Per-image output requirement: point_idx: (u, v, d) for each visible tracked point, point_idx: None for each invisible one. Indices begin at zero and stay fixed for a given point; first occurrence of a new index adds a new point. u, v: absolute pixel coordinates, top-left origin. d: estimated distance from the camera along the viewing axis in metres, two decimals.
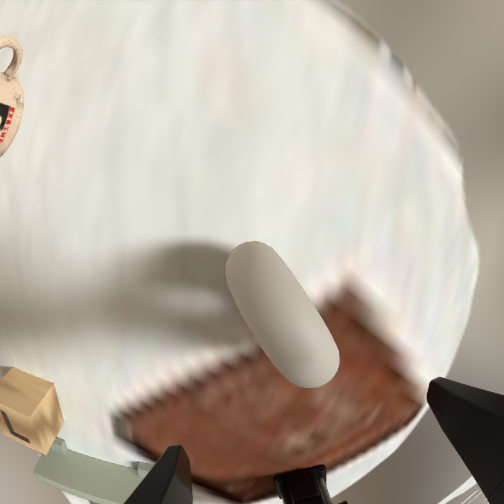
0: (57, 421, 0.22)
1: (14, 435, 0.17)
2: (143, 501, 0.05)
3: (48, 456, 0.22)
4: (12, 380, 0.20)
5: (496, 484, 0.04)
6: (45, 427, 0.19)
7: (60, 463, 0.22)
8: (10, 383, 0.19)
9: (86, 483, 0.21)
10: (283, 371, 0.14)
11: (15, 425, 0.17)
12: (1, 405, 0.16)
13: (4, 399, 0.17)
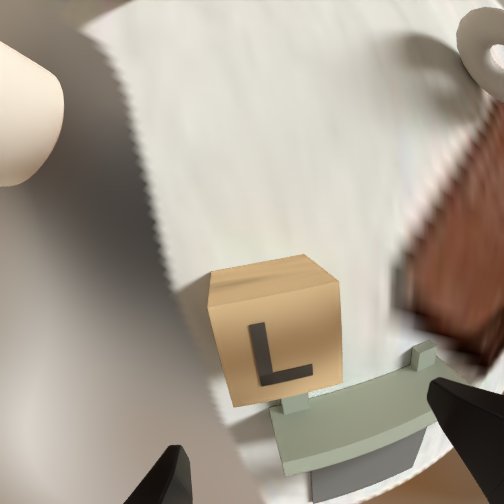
0: None
1: (271, 383, 0.14)
2: (143, 501, 0.05)
3: (287, 425, 0.19)
4: (234, 276, 0.16)
5: (496, 484, 0.04)
6: None
7: (314, 421, 0.18)
8: (236, 279, 0.16)
9: (374, 419, 0.17)
10: None
11: (286, 345, 0.13)
12: (257, 306, 0.13)
13: (256, 292, 0.13)
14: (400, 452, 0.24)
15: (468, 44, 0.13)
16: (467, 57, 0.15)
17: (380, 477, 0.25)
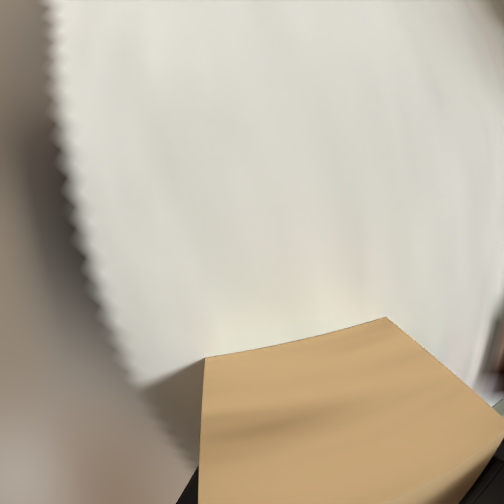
0: None
1: None
2: (196, 502, 0.05)
3: None
4: (258, 394, 0.06)
5: None
6: None
7: None
8: (264, 408, 0.06)
9: None
10: None
11: None
12: None
13: (331, 487, 0.03)
14: None
15: None
16: None
17: None
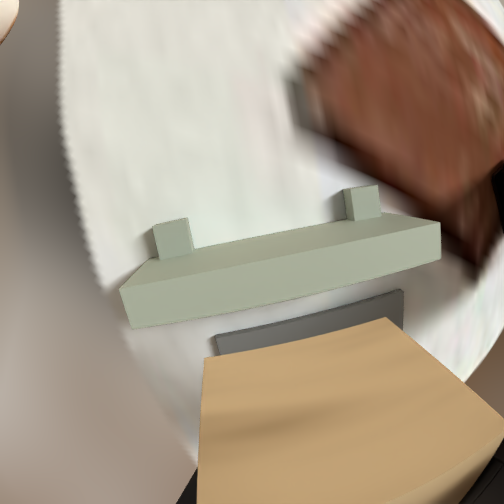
0: None
1: None
2: (196, 502, 0.05)
3: (155, 265, 0.15)
4: (257, 394, 0.06)
5: None
6: None
7: (188, 259, 0.15)
8: (263, 408, 0.06)
9: (272, 250, 0.14)
10: None
11: None
12: None
13: (330, 488, 0.03)
14: None
15: None
16: None
17: None
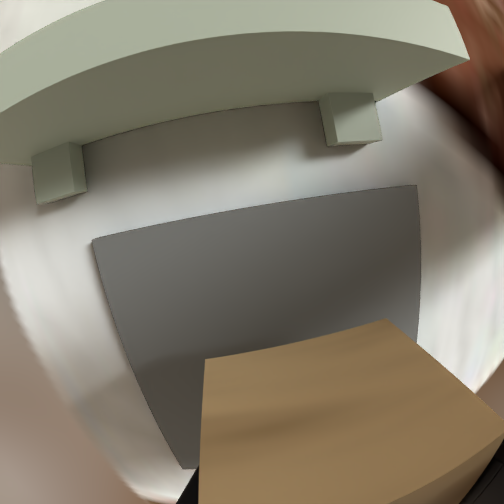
0: None
1: None
2: (196, 502, 0.05)
3: None
4: (258, 396, 0.06)
5: None
6: None
7: None
8: (264, 410, 0.06)
9: None
10: None
11: None
12: None
13: (331, 489, 0.03)
14: None
15: None
16: None
17: None
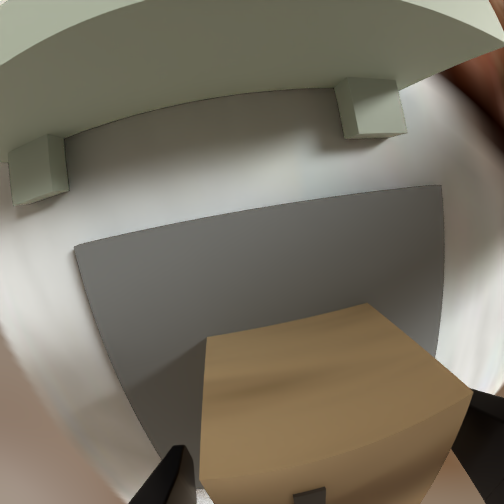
0: None
1: None
2: (148, 501, 0.05)
3: None
4: (252, 363, 0.08)
5: (493, 486, 0.04)
6: None
7: None
8: (257, 374, 0.07)
9: None
10: None
11: (356, 499, 0.05)
12: (315, 470, 0.04)
13: (311, 435, 0.05)
14: None
15: None
16: None
17: None
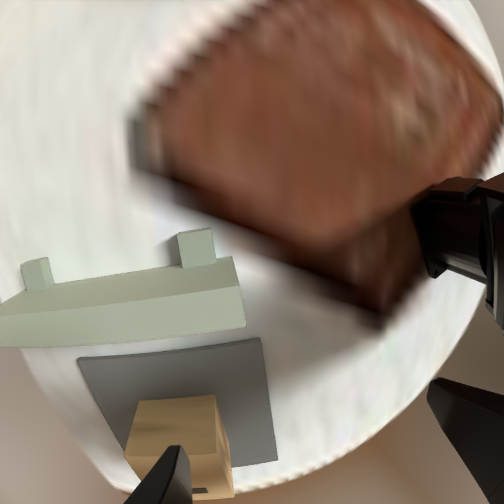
0: (227, 446, 0.19)
1: None
2: (143, 501, 0.05)
3: (18, 297, 0.15)
4: (151, 418, 0.17)
5: (496, 484, 0.04)
6: (225, 459, 0.16)
7: (34, 296, 0.14)
8: (151, 423, 0.17)
9: (72, 299, 0.13)
10: None
11: None
12: (157, 460, 0.14)
13: (157, 448, 0.14)
14: (235, 427, 0.21)
15: None
16: None
17: None
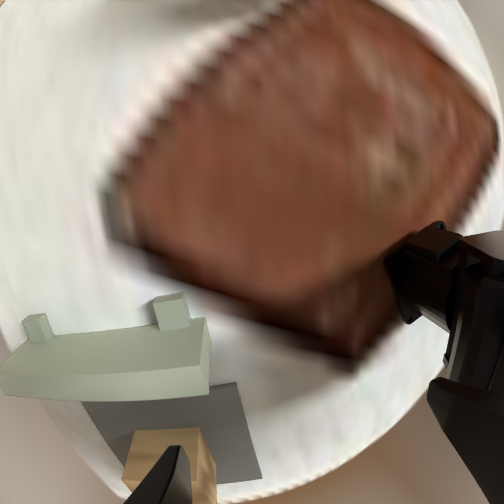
0: (212, 468, 0.21)
1: None
2: (143, 501, 0.05)
3: (23, 350, 0.16)
4: (144, 447, 0.19)
5: (496, 484, 0.04)
6: (208, 482, 0.18)
7: (37, 351, 0.16)
8: (144, 451, 0.18)
9: (68, 362, 0.15)
10: None
11: None
12: None
13: None
14: (220, 452, 0.22)
15: None
16: None
17: None
